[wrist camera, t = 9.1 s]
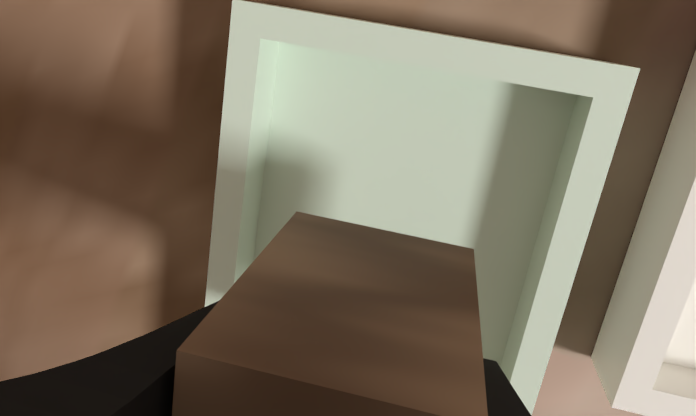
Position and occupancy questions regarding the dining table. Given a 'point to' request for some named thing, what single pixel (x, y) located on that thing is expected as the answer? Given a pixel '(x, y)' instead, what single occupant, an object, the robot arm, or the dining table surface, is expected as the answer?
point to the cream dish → (658, 286)
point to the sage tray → (420, 156)
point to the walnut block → (340, 330)
